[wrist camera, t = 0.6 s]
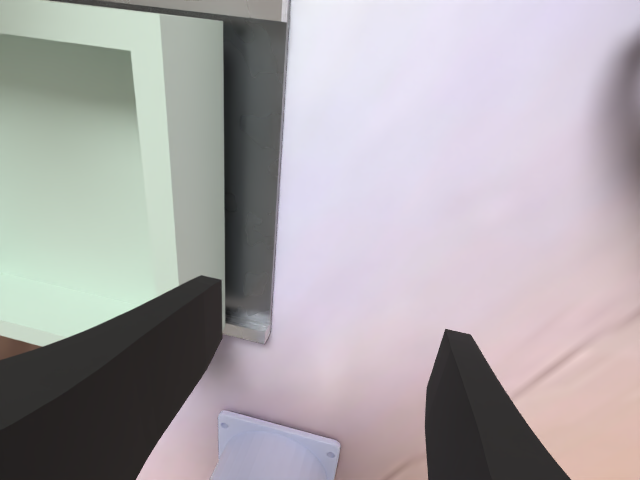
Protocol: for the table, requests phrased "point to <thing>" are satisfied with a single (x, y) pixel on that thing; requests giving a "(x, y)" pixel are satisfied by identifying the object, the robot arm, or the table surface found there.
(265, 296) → the track plate
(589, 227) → the table surface
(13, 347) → the walnut block
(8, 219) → the pale green square tray
